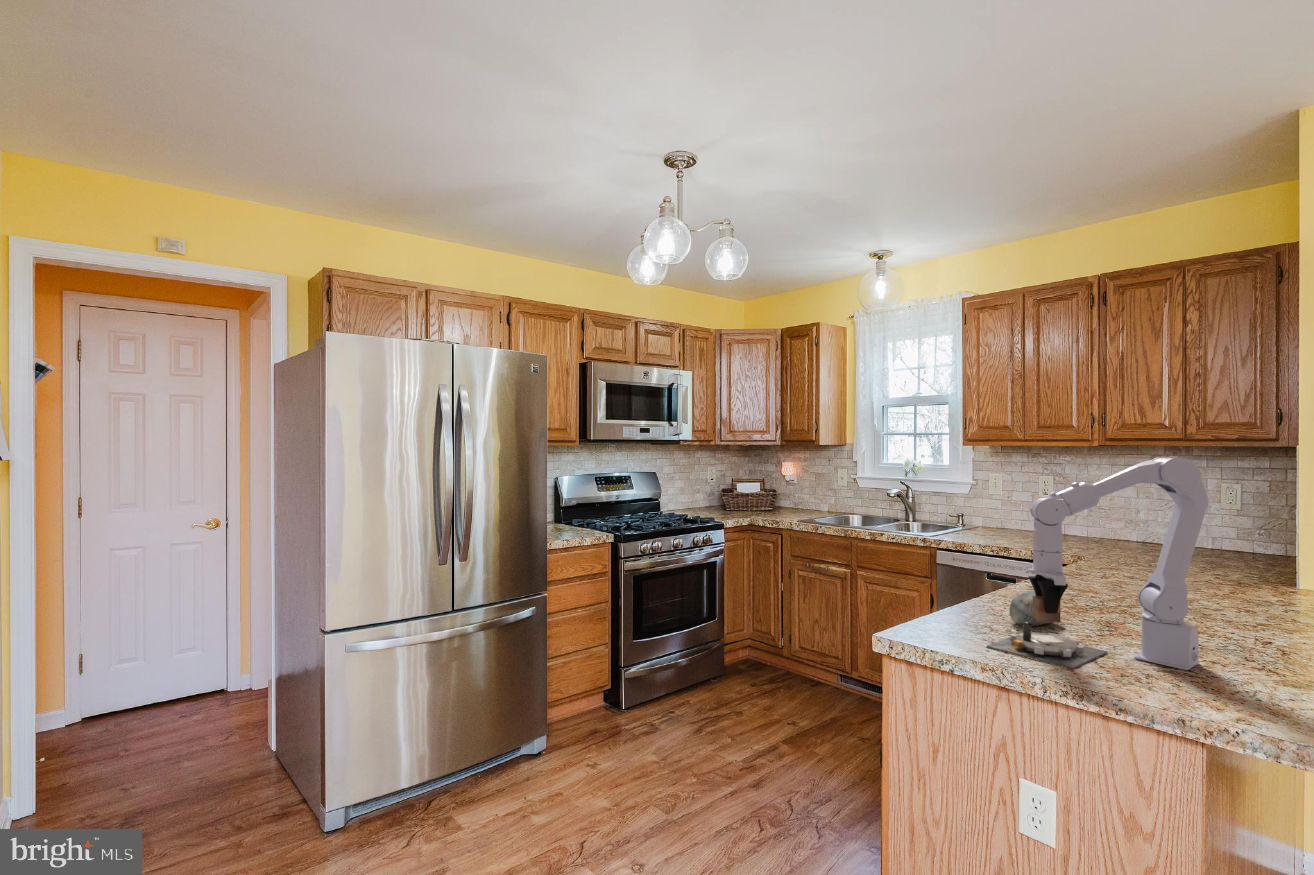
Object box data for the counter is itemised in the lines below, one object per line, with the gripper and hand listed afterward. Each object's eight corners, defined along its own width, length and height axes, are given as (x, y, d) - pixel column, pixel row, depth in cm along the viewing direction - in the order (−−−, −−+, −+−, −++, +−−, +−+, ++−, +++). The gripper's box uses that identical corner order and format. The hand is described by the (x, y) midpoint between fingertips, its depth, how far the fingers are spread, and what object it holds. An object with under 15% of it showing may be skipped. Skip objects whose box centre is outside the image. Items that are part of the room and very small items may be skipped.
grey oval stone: (1031, 602, 181) (1041, 575, 176) (1063, 626, 173) (1074, 598, 168) (995, 619, 176) (1004, 591, 171) (1026, 644, 168) (1036, 615, 163)
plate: (1107, 653, 148) (1107, 650, 148) (1072, 669, 137) (1072, 667, 137) (1024, 634, 162) (1024, 631, 162) (986, 647, 152) (986, 645, 152)
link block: (1054, 618, 151) (1054, 596, 151) (1060, 622, 148) (1060, 600, 148) (1032, 617, 152) (1032, 595, 152) (1038, 621, 149) (1038, 599, 149)
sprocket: (1055, 637, 157) (1055, 613, 157) (1098, 656, 143) (1098, 631, 143) (998, 638, 157) (998, 614, 157) (1035, 658, 142) (1035, 632, 142)
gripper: (1017, 545, 158) (1017, 602, 158) (1040, 555, 144) (1040, 618, 144) (1049, 546, 157) (1049, 603, 157) (1076, 556, 142) (1076, 619, 142)
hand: (1047, 610), depth 150 cm, fingers closed on link block, 3 cm apart
